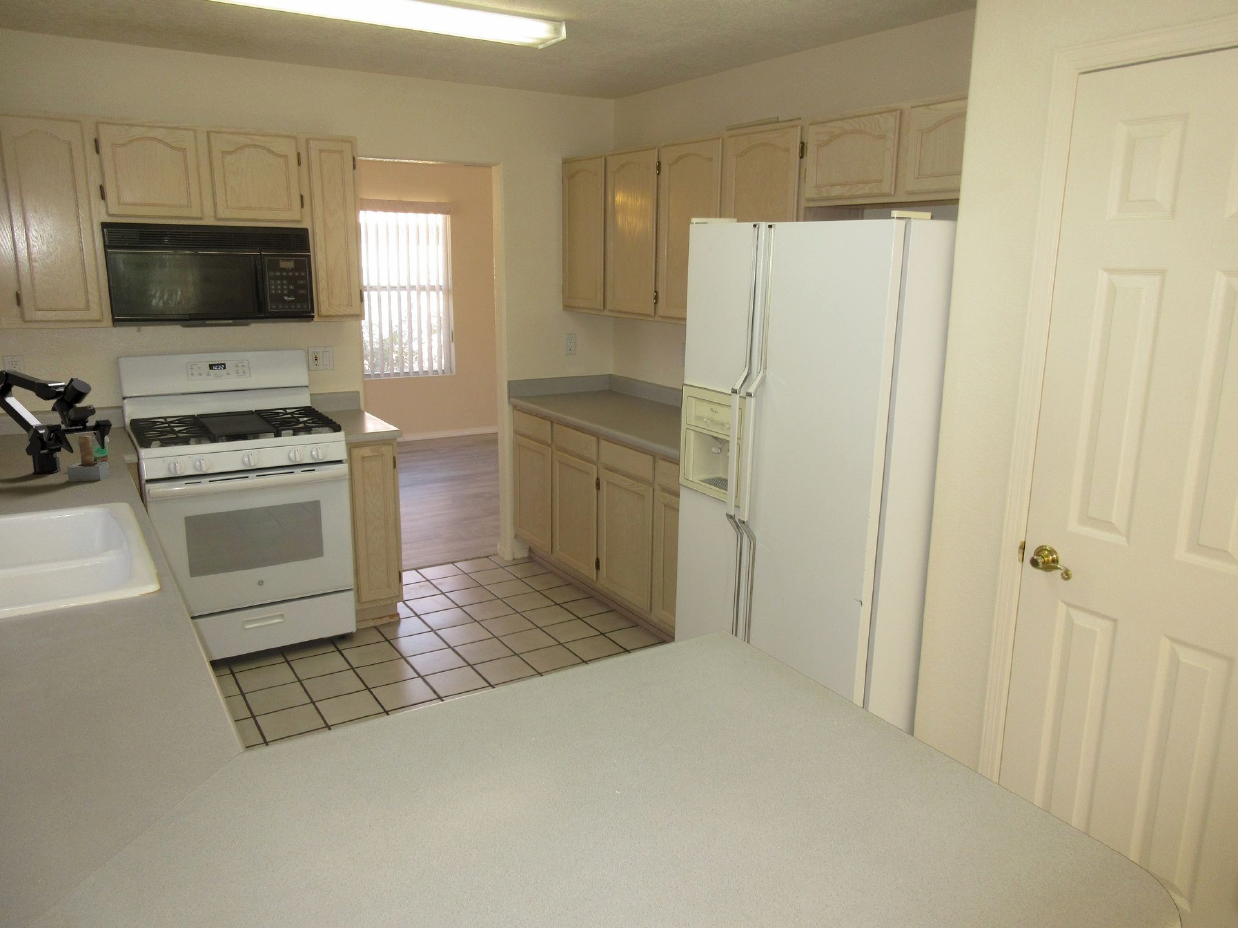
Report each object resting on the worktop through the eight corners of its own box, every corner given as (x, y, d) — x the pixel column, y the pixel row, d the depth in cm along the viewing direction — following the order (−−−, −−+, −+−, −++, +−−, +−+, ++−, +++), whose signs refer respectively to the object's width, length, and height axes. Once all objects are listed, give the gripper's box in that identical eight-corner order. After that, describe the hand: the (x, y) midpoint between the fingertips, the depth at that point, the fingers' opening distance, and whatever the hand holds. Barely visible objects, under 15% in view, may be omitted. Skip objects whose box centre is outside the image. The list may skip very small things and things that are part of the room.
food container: (98, 468, 296) (95, 439, 294) (80, 468, 296) (76, 439, 294) (119, 462, 308) (116, 434, 306) (102, 462, 308) (99, 434, 306)
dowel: (81, 476, 277) (76, 437, 275) (85, 474, 281) (80, 435, 278) (93, 475, 278) (89, 437, 276) (97, 473, 281) (92, 435, 279)
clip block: (68, 481, 274) (67, 467, 273) (79, 476, 283) (77, 462, 282) (100, 480, 276) (98, 466, 275) (109, 474, 285) (108, 461, 284)
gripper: (42, 399, 270) (61, 438, 265) (106, 394, 285) (125, 431, 280) (35, 422, 276) (53, 460, 271) (98, 416, 291) (116, 452, 286)
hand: (88, 450), depth 277 cm, fingers open, 9 cm apart
